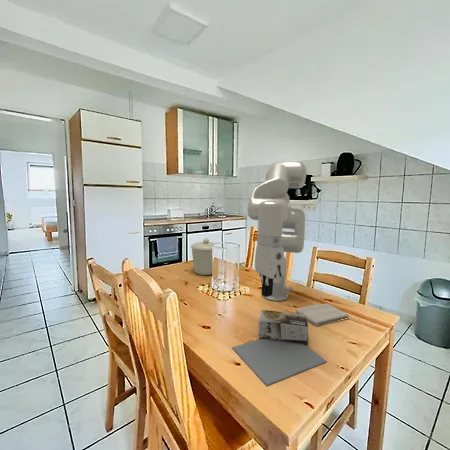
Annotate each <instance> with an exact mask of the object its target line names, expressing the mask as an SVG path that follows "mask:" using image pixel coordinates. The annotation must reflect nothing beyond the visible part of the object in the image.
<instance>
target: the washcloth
mask: <svg viewBox="0 0 450 450" xmlns="http://www.w3.org/2000/svg"><path fill="white" fill-rule="evenodd" d="M295 314H304V315H306V318H307V322H309V323H310V324H312V325H313V326H315V327H319V326H321V327H322V326H325V325H329V324H328V323H330V324H332V322H333V323H336V322H335V321H338V320H341V319H345V318H348V319H349V314H348V312H345V311H342V310H341V309H339V308H338V307H335V306H334V305H331V304H330V303H322V304H321V303H316V304H312V305H307V306H303V307H299V308H297V309H296V311H295ZM341 321H342V320H341ZM338 322H339V321H338ZM324 324H325V325H324Z"/></svg>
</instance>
